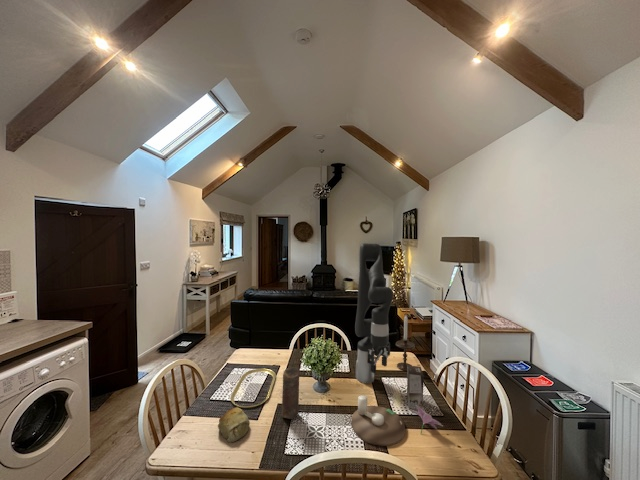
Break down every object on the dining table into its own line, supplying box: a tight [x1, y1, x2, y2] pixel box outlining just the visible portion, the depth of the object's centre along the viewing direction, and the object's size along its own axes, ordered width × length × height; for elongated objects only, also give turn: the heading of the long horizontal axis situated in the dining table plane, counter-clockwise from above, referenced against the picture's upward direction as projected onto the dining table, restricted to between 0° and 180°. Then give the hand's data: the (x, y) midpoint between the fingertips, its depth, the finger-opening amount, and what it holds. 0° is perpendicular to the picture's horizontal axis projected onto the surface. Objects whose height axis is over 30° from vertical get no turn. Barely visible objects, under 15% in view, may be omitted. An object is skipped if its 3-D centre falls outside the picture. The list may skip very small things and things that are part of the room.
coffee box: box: [406, 365, 425, 410], centre depth 134 cm, size 9×6×16 cm
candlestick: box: [395, 309, 416, 372], centre depth 168 cm, size 11×11×35 cm
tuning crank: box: [357, 395, 384, 426], centre depth 121 cm, size 12×5×6 cm, turn 44°
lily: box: [412, 405, 444, 434], centre depth 116 cm, size 12×12×10 cm
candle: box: [281, 367, 300, 420], centre depth 124 cm, size 8×7×20 cm
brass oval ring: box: [230, 368, 277, 409], centre depth 146 cm, size 19×35×2 cm, turn 179°
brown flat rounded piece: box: [350, 405, 406, 447], centre depth 118 cm, size 22×22×2 cm
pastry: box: [217, 406, 251, 443], centre depth 115 cm, size 14×12×8 cm
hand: (378, 369), depth 123 cm, fingers open, 8 cm apart
